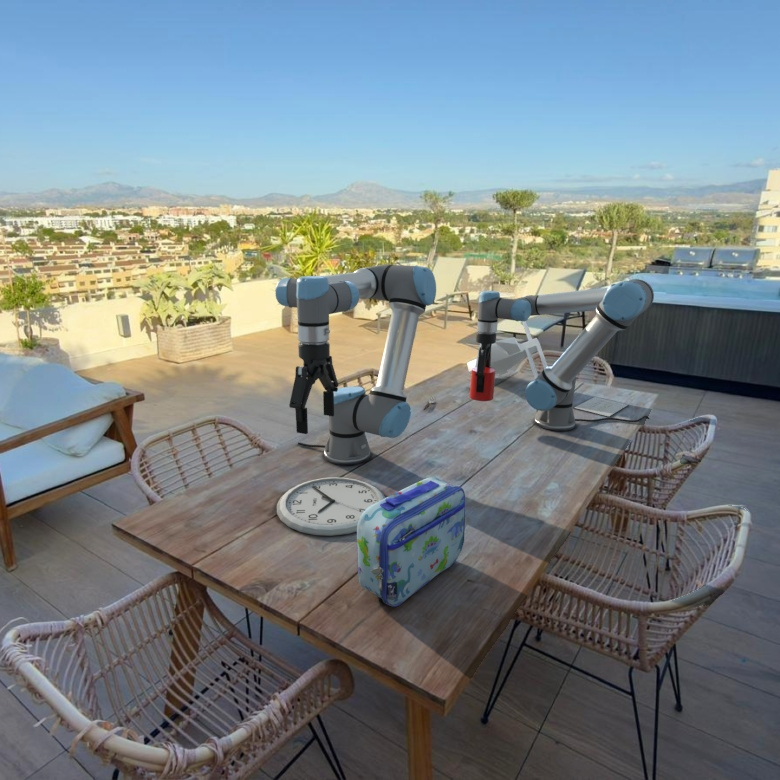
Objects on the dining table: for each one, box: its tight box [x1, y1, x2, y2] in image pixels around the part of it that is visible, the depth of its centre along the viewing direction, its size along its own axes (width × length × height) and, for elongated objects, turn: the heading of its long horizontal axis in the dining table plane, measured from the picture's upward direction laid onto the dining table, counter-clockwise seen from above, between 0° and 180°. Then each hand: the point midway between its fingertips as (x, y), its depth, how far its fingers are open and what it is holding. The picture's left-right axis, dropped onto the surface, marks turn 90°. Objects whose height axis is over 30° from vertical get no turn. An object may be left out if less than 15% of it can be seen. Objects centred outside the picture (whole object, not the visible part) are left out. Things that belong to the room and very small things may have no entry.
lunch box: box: [356, 476, 466, 608], centre depth 110 cm, size 26×11×21 cm, turn 134°
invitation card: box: [573, 396, 629, 418], centre depth 226 cm, size 21×1×15 cm
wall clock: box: [276, 476, 386, 537], centre depth 142 cm, size 30×2×30 cm
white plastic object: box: [466, 321, 549, 380], centre depth 259 cm, size 37×45×31 cm
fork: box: [423, 395, 437, 411], centre depth 224 cm, size 3×16×2 cm, turn 160°
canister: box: [469, 367, 496, 402], centre depth 205 cm, size 9×9×12 cm
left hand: (316, 423), depth 133 cm, fingers open, 13 cm apart
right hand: (482, 388), depth 206 cm, fingers closed on canister, 9 cm apart
